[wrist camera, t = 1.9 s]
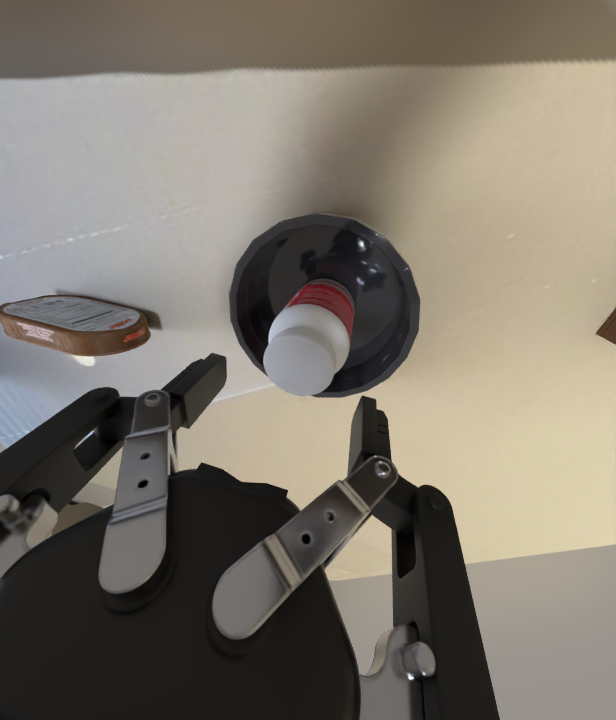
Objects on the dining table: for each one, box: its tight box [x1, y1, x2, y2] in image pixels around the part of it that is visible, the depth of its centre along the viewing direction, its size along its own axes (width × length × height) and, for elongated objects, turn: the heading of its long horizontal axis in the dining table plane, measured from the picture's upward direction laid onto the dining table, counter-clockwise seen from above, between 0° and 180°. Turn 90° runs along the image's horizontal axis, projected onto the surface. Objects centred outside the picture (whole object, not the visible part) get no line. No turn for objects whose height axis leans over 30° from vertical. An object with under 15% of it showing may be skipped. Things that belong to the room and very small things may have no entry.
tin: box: [0, 295, 151, 356], centre depth 27 cm, size 15×3×8 cm, turn 82°
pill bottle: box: [263, 279, 355, 396], centre depth 20 cm, size 6×6×11 cm
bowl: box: [229, 213, 420, 397], centre depth 23 cm, size 16×16×4 cm
